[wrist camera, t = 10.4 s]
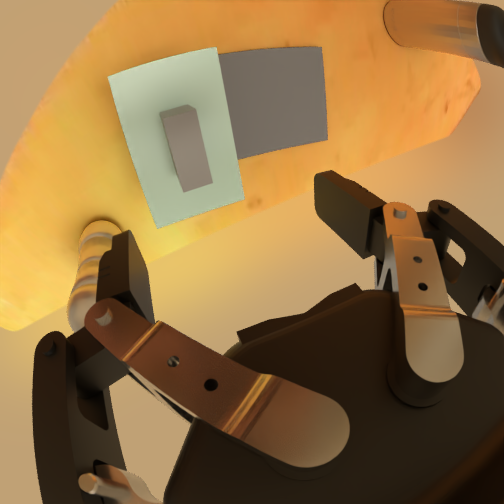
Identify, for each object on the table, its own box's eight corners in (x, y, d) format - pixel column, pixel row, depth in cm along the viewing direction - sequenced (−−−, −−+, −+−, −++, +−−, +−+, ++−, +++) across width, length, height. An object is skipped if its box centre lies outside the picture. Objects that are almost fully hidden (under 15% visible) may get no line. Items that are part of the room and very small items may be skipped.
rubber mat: (317, 47, 30) (321, 46, 30) (323, 138, 39) (327, 139, 38) (216, 55, 28) (218, 54, 27) (233, 158, 36) (236, 160, 36)
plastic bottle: (124, 213, 35) (126, 331, 20) (126, 255, 39) (135, 376, 24) (79, 215, 33) (50, 334, 17) (84, 258, 36) (73, 379, 21)
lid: (214, 47, 19) (230, 41, 16) (242, 195, 29) (260, 218, 25) (108, 76, 18) (101, 76, 14) (156, 224, 27) (161, 252, 23)
